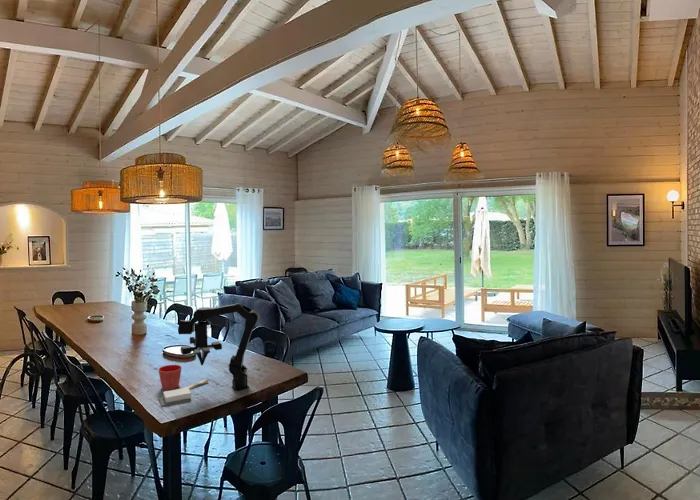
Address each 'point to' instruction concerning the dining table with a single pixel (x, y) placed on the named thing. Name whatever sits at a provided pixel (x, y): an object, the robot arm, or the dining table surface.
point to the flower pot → (170, 376)
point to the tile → (177, 395)
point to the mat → (163, 403)
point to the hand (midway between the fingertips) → (201, 365)
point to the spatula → (197, 384)
